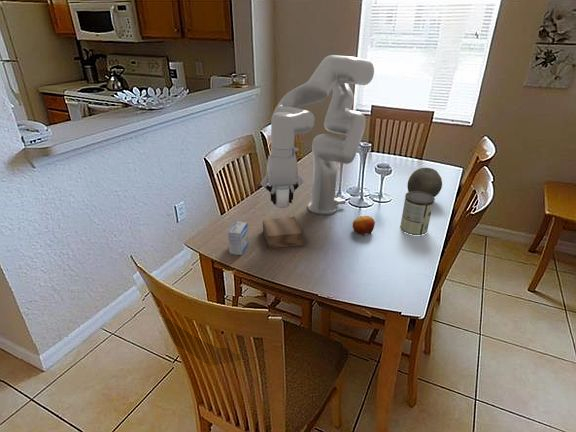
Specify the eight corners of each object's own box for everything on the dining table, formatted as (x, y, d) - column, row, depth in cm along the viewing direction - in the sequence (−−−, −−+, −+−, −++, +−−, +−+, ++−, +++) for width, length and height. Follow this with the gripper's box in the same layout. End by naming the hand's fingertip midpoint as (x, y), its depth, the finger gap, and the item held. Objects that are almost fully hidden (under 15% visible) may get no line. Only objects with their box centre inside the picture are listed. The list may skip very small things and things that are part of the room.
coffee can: (400, 221, 149) (406, 189, 143) (427, 225, 146) (434, 193, 140) (398, 233, 141) (404, 200, 134) (427, 238, 138) (434, 204, 131)
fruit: (364, 238, 134) (359, 217, 134) (352, 239, 141) (347, 219, 141) (381, 233, 138) (377, 212, 137) (369, 234, 145) (364, 214, 145)
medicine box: (242, 255, 126) (240, 233, 122) (229, 254, 127) (227, 232, 123) (248, 243, 133) (248, 222, 129) (236, 242, 133) (235, 220, 129)
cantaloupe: (403, 203, 163) (409, 171, 156) (406, 191, 175) (412, 161, 168) (437, 210, 159) (444, 177, 152) (438, 197, 170) (445, 166, 163)
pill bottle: (287, 201, 132) (287, 180, 129) (290, 207, 128) (291, 186, 124) (273, 202, 131) (273, 181, 128) (275, 208, 127) (276, 187, 123)
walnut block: (293, 228, 143) (294, 216, 140) (301, 244, 132) (302, 232, 130) (262, 231, 140) (262, 219, 138) (268, 248, 130) (268, 236, 128)
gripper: (304, 147, 126) (302, 196, 134) (254, 149, 122) (255, 199, 131) (311, 154, 119) (308, 205, 128) (258, 156, 116) (259, 209, 124)
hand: (281, 201), depth 129 cm, fingers closed on pill bottle, 5 cm apart
